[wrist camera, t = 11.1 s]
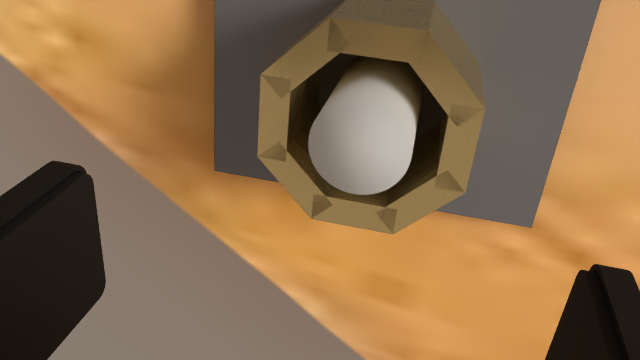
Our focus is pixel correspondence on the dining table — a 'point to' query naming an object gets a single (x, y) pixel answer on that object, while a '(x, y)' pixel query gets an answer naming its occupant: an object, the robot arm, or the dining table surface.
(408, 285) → the dining table surface
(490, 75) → the piston stand
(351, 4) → the brass ring
